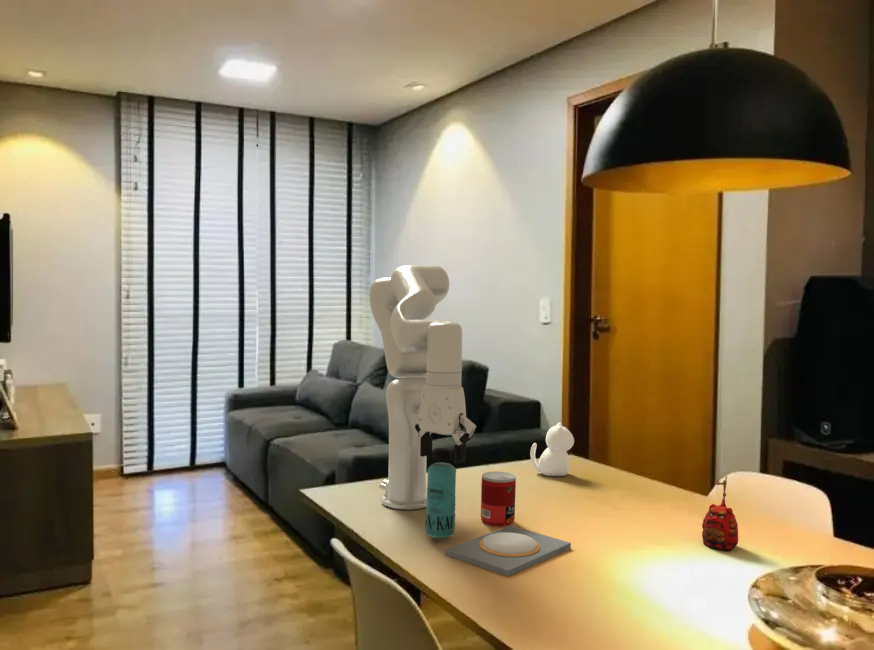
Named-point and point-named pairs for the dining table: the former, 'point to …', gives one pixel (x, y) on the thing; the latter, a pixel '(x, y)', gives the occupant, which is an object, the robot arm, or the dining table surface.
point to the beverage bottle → (441, 495)
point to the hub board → (508, 550)
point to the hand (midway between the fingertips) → (442, 459)
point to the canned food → (498, 498)
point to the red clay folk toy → (720, 525)
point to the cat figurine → (554, 452)
